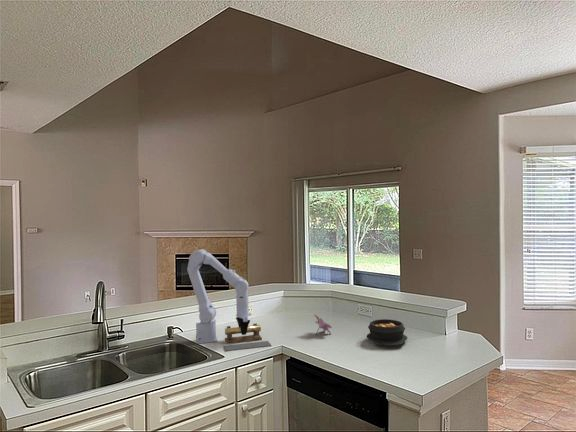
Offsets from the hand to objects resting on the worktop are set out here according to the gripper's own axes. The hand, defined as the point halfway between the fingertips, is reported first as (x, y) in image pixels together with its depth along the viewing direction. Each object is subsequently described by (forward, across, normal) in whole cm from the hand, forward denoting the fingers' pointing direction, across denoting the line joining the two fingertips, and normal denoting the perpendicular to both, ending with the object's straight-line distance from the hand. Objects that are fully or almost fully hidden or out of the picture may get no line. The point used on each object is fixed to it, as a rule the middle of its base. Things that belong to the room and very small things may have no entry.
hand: (243, 333), depth 203 cm
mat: (+3, -10, 0) cm, 11 cm away
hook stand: (+3, 0, 0) cm, 3 cm away
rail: (-2, 0, 0) cm, 2 cm away
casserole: (+3, -26, -63) cm, 68 cm away
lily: (+3, -4, -39) cm, 40 cm away
